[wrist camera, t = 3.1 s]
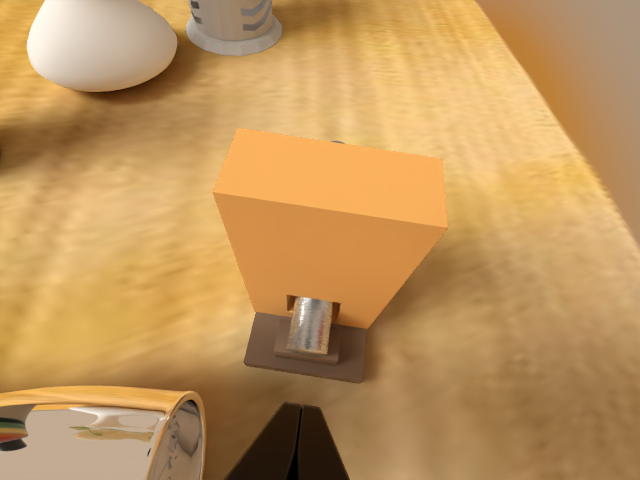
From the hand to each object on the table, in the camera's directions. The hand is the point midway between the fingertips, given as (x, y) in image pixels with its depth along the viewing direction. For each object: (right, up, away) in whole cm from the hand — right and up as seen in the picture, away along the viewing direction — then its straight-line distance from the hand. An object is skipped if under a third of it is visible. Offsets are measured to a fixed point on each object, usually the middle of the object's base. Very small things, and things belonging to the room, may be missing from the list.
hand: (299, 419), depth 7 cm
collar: (0, +1, +10) cm, 10 cm away
